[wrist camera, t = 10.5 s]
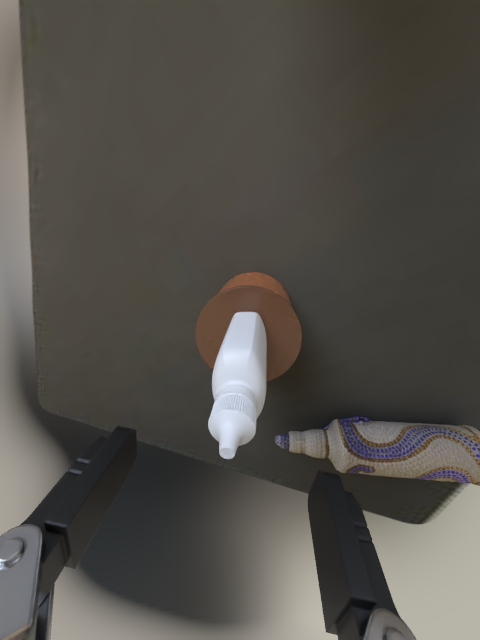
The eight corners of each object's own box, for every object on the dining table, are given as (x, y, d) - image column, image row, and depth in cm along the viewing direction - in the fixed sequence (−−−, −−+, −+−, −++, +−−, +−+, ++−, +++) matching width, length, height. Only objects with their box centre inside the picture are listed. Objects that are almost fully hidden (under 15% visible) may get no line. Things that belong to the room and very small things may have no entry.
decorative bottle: (466, 411, 32) (514, 455, 26) (450, 452, 34) (490, 500, 28) (274, 402, 35) (276, 439, 28) (273, 440, 37) (274, 482, 31)
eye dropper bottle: (214, 352, 22) (162, 470, 11) (240, 302, 20) (207, 387, 9) (254, 371, 23) (242, 506, 12) (284, 324, 21) (303, 432, 10)
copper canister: (220, 263, 28) (200, 276, 20) (301, 278, 28) (315, 298, 20) (210, 336, 32) (190, 373, 24) (282, 350, 32) (287, 393, 23)
